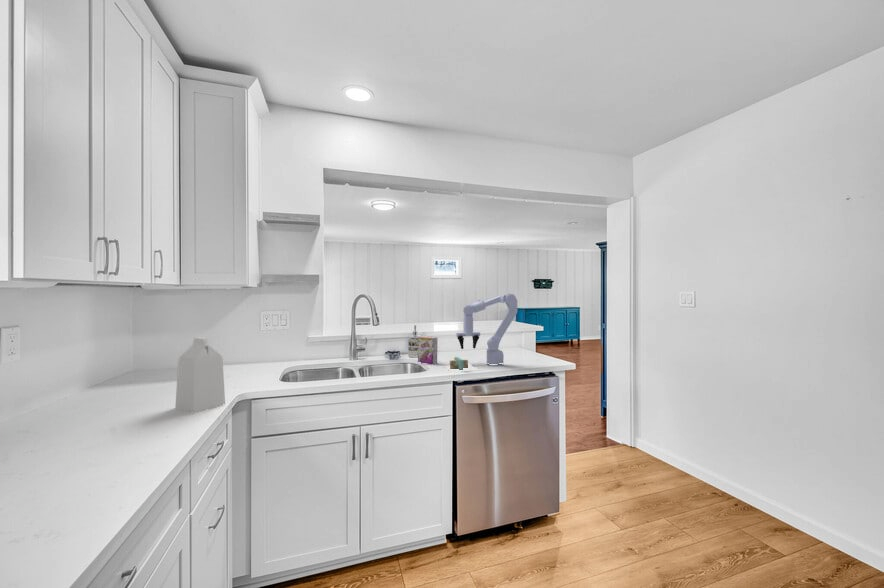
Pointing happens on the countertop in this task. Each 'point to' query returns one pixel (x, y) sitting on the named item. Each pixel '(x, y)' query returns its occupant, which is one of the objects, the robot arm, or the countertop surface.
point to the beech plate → (454, 366)
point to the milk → (200, 378)
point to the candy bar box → (427, 349)
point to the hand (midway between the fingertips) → (468, 348)
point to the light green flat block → (459, 363)
